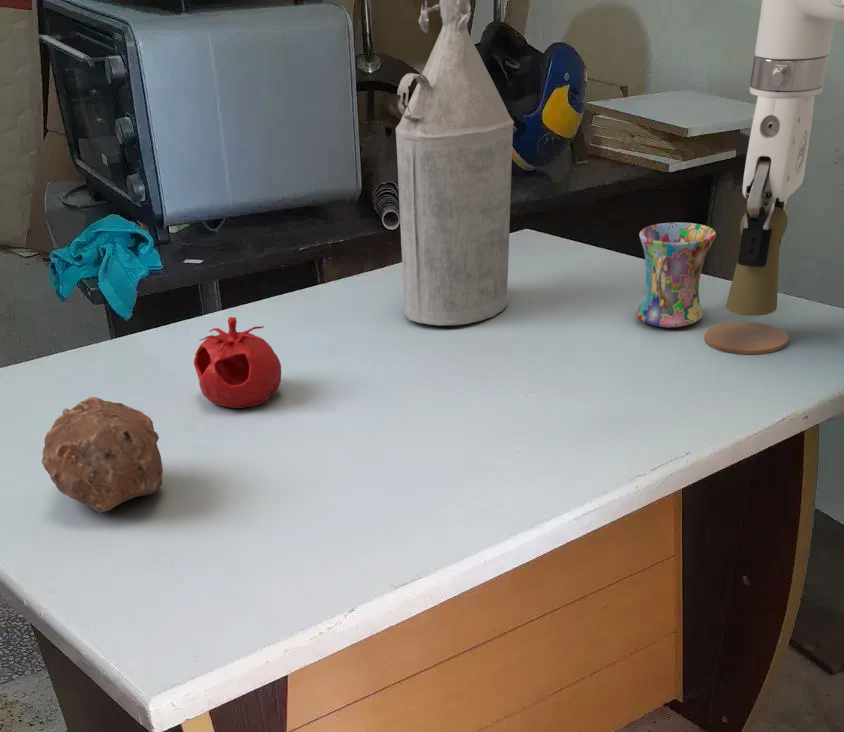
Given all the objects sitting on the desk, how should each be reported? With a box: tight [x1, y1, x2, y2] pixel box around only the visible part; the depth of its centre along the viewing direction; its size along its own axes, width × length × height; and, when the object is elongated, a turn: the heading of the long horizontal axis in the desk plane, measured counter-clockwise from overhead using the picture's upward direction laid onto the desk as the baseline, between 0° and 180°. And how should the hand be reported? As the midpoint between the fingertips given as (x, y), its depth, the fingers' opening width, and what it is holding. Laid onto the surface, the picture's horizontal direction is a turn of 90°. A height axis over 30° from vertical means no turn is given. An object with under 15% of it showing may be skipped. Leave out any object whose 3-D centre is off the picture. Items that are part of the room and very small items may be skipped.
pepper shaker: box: [725, 206, 789, 317], centre depth 120 cm, size 6×6×11 cm
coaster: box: [704, 321, 789, 355], centre depth 126 cm, size 10×10×1 cm
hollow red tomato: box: [193, 316, 282, 409], centre depth 117 cm, size 10×10×9 cm
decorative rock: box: [41, 396, 164, 514], centre depth 99 cm, size 13×11×10 cm
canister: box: [395, 0, 515, 327], centre depth 126 cm, size 13×17×40 cm
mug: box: [635, 221, 717, 328], centre depth 128 cm, size 12×9×11 cm
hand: (758, 256), depth 120 cm, fingers closed on pepper shaker, 5 cm apart
